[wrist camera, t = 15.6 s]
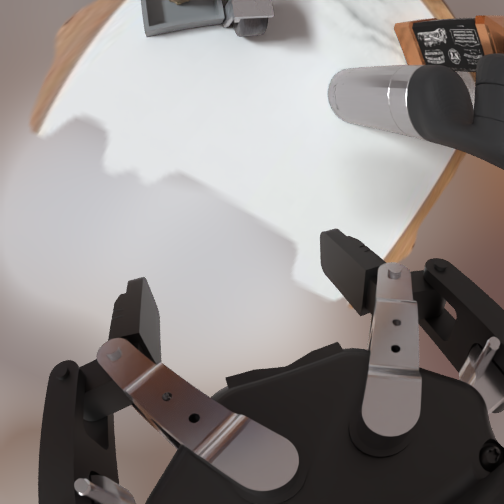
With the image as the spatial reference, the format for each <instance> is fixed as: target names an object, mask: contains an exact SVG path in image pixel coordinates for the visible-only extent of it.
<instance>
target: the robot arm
mask: <svg viewBox="0 0 504 504" xmlns="http://www.w3.org/2000/svg"><path fill="white" fill-rule="evenodd" d="M328 98H329V103H330V105H331V108H332V110H333V111H334V113H335V114H336V115H337V116H338V117H339V118H340V119H342V120H343V121H345V122H347V123H352V124H357V125H362V126H367V127H372V128H376V129H381V130H386V131H390V132H394V133H398V134H402V135H406V136H410V137H415V138H418V139H422V140H426V141H429V142H433V143H437V144H440V145H444V146H448V147H451V148H455V149H458V150H461V151H463V152H466V153H468V154H471V155H473V156H476V157H478V158H480V159H483V160H485V161H487V162H489V163H491V164H493V165H495V166H497V167H499V168H501V169H503V170H504V54H501V53H495V54H488V55H484V56H482V57H481V58H480V59H479V60H478V62H477V68H476V87H475V103H474V109H473V105H472V102H471V97H470V94H469V92H468V89H467V87H466V85H465V83H464V81H463V80H462V79H461V77H460V76H459V75H458V74H457V73H456V72H455V71H454V70H452V69H450V68H448V67H446V66H442V65H392V66H374V67H360V68H350V69H344V70H342V71H339V72H338V73H337V74H336V75H334V77H333V78H332V80H331V82H330V84H329V89H328ZM320 252H321V266H322V269H323V272H324V273H325V275H326V276H327V277H328V278H329V279H330V281H331V282H332V283H333V284H334V285H335V286H336V288H337V289H338V290H339V291H340V292H341V294H342V295H343V296H344V297H345V298H346V299H347V301H348V302H349V303H350V304H351V305H352V307H353V308H354V309H355V310H356V311H357V313H358V314H359V315H360V316H362V315H365V314H367V313H371V314H372V317H371V324H370V331H369V339H368V346H367V350H365V349H356V348H350V349H342V348H341V346H340V344H339V343H338V342H336V343H334V344H331V345H328V346H325V347H323V348H320V349H317V350H314V351H312V352H310V353H308V354H307V355H305V356H304V357H302V358H300V359H299V360H297V361H295V362H294V363H292V364H290V365H288V366H286V367H278V368H269V369H257V370H252V371H248V372H245V373H241V374H237V375H234V376H230V377H226V381H227V385H228V386H227V387H225V388H223V389H221V390H220V391H218V392H217V393H215V394H214V395H213V396H212V397H211V398H210V397H209V396H207V395H206V394H204V393H203V392H201V391H200V390H198V389H197V388H195V387H194V386H192V385H191V384H190V383H188V382H187V381H186V380H184V379H183V378H181V377H180V376H179V375H177V374H176V373H175V372H173V371H172V370H171V369H169V368H168V367H167V366H165V365H164V364H163V363H161V346H160V317H159V311H158V308H157V305H156V302H155V300H154V297H153V295H152V292H151V290H150V287H149V285H148V282H147V280H146V278H145V277H142V278H138V279H134V280H130V281H128V285H127V292H126V293H125V294H121V295H120V296H119V297H118V299H117V300H116V302H115V304H114V309H113V314H112V320H111V326H110V332H109V339H108V341H107V342H105V343H104V344H103V345H102V346H101V347H100V348H99V350H98V352H97V356H96V357H97V359H96V360H94V361H92V362H90V363H88V364H86V365H84V366H81V367H79V366H78V365H77V364H76V363H75V362H74V361H71V360H67V361H63V362H61V363H59V364H58V365H56V366H55V367H54V368H53V370H52V372H51V373H50V376H49V381H48V386H47V392H46V398H45V405H44V412H43V420H42V429H41V440H40V452H39V476H38V480H39V481H38V491H39V492H38V493H39V494H38V496H39V504H136V503H135V500H134V497H133V495H132V494H131V493H130V492H129V490H127V489H126V488H124V487H122V486H121V485H119V479H118V470H117V461H116V450H115V436H114V415H113V413H114V412H117V411H119V410H121V409H123V408H125V407H127V406H129V405H131V406H132V407H133V408H134V409H135V410H136V411H137V412H138V413H139V414H140V415H141V416H142V417H143V418H144V419H145V420H146V421H147V422H148V423H149V424H150V425H151V426H153V427H154V428H155V429H156V430H157V431H158V432H159V433H160V434H161V435H162V436H163V437H164V438H165V439H166V440H167V441H168V442H169V443H170V444H171V445H172V446H174V447H175V448H176V449H177V451H176V453H175V455H174V456H173V458H172V460H171V461H170V463H169V465H168V466H167V468H166V470H165V471H164V473H163V475H162V476H161V478H160V479H159V481H158V483H157V484H156V486H155V488H154V489H153V491H152V492H151V494H150V496H149V498H148V499H147V501H146V503H145V504H504V448H503V447H502V446H501V445H500V444H499V443H498V442H497V440H496V438H495V436H494V434H493V431H492V428H491V425H490V421H489V416H488V415H489V414H490V413H491V412H492V413H499V412H501V411H503V410H504V310H503V309H502V308H501V307H500V306H499V305H498V304H497V303H496V302H495V301H494V300H493V299H491V298H490V297H489V296H488V295H487V294H486V293H485V292H484V291H483V290H482V289H480V288H479V287H478V286H477V285H476V284H475V283H474V282H472V281H471V280H470V279H469V278H468V277H467V276H465V275H464V274H463V273H461V271H459V270H458V269H457V268H456V267H454V266H453V265H452V264H451V263H450V262H448V261H446V260H443V259H438V258H434V259H430V260H428V261H427V262H426V264H425V269H424V270H422V271H413V272H410V270H409V269H408V268H407V267H406V266H404V265H402V264H399V263H392V262H391V263H386V262H385V261H384V260H382V259H381V258H380V257H379V256H378V255H376V254H375V253H374V252H373V251H372V250H370V249H369V248H368V247H367V246H365V245H364V244H363V243H362V242H361V241H359V240H358V239H355V238H353V237H350V236H346V235H344V234H343V233H342V232H341V231H340V230H338V229H332V230H328V231H324V232H322V233H321V235H320ZM446 301H447V302H448V303H449V304H450V305H451V306H452V307H453V308H454V309H455V311H456V314H457V319H456V320H455V319H454V318H453V317H452V316H451V315H450V314H449V312H448V311H447V310H446V309H445V308H444V306H445V303H446ZM418 324H419V325H420V326H421V327H422V328H423V329H424V330H425V332H426V333H427V334H428V335H429V336H430V338H431V339H432V340H433V341H434V342H435V344H436V345H437V346H438V347H439V349H440V350H441V351H442V352H443V354H444V355H445V356H446V357H447V359H448V360H449V361H450V362H451V363H452V365H453V366H454V367H455V368H456V370H457V371H458V372H459V379H460V380H457V379H454V378H450V377H447V376H444V375H440V374H438V373H435V372H432V371H428V370H425V369H422V368H419V332H418V331H419V329H418Z"/></svg>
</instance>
